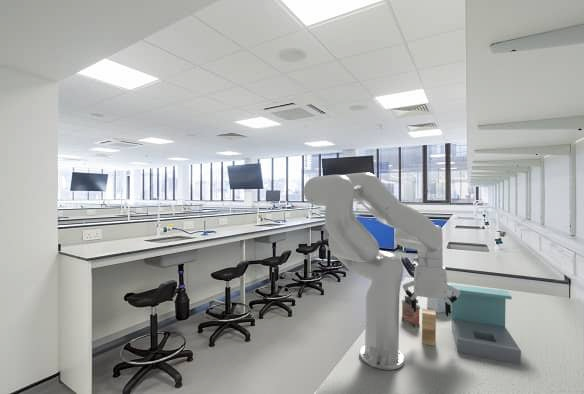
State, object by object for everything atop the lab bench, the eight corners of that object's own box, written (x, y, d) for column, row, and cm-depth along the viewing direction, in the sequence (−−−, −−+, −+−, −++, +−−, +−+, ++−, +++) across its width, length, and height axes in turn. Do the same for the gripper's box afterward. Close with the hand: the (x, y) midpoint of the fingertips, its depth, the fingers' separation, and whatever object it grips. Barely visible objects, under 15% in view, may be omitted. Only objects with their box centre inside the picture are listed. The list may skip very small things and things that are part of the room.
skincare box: (438, 313, 120) (438, 288, 120) (426, 307, 126) (426, 283, 126) (457, 310, 123) (458, 286, 123) (445, 305, 129) (446, 282, 129)
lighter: (399, 319, 113) (399, 293, 113) (406, 318, 114) (406, 293, 114) (414, 328, 106) (415, 300, 106) (422, 326, 107) (422, 299, 107)
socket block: (522, 364, 83) (523, 309, 83) (455, 351, 90) (455, 299, 90) (506, 337, 99) (506, 291, 99) (450, 327, 106) (450, 284, 106)
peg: (435, 345, 93) (435, 314, 93) (421, 343, 95) (422, 312, 95) (435, 340, 97) (435, 310, 97) (421, 337, 98) (422, 308, 98)
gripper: (401, 262, 96) (402, 313, 96) (461, 266, 89) (461, 321, 89) (402, 257, 103) (403, 305, 103) (458, 261, 96) (459, 312, 96)
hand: (430, 312), depth 96 cm, fingers open, 9 cm apart
